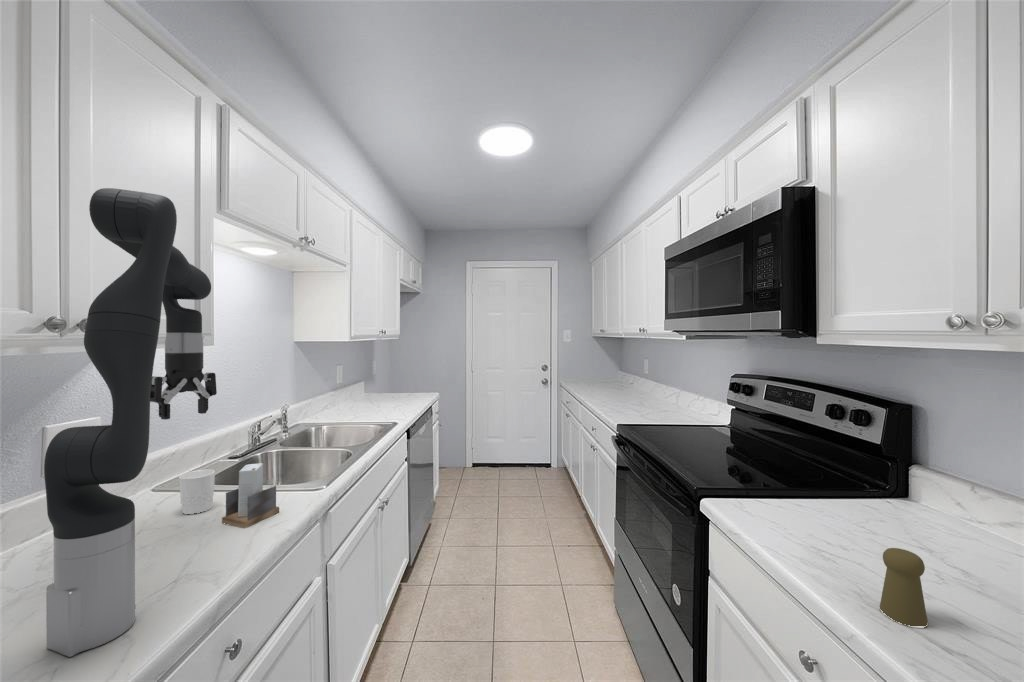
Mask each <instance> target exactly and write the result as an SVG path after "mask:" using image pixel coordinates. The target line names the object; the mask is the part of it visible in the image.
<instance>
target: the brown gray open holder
mask: <svg viewBox="0 0 1024 682" xmlns="http://www.w3.org/2000/svg"><path fill="white" fill-rule="evenodd" d="M238 493H239V487H238V488H236V489H234V490H231V491H228V492H225V516H223V517H221V523H225V524H224V525H227V524H229V525H228V526H232V525H234V526H233V527H237V526H238V527H239V528H242V527H243V529H246V528H249V527H250V526H253V525H255V524H257V523H260V522H261V521H264V520H266V519H268V518H270V517H273V516H274V515H277V514H278V513H280V506H277V486H276V485H274V486H271V487H269V488H266V489H263V491H261V492H258V493H255V494H253V495H250V496H248V517H238ZM238 527H237V528H238Z"/></svg>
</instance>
